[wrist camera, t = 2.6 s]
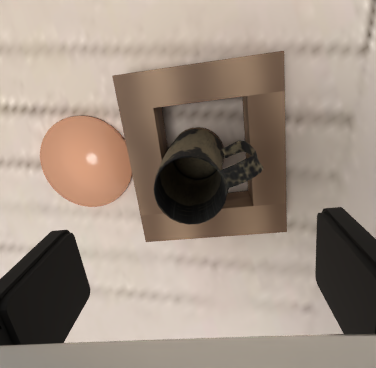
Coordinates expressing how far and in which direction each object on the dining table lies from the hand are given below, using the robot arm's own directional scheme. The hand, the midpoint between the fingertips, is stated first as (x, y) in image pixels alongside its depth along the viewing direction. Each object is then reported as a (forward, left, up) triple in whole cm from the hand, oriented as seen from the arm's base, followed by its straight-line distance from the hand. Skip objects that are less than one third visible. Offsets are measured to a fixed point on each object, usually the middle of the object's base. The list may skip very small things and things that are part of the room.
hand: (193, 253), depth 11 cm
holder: (0, 0, -19) cm, 19 cm away
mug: (0, 0, -20) cm, 20 cm away
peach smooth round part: (+13, 0, -19) cm, 23 cm away
